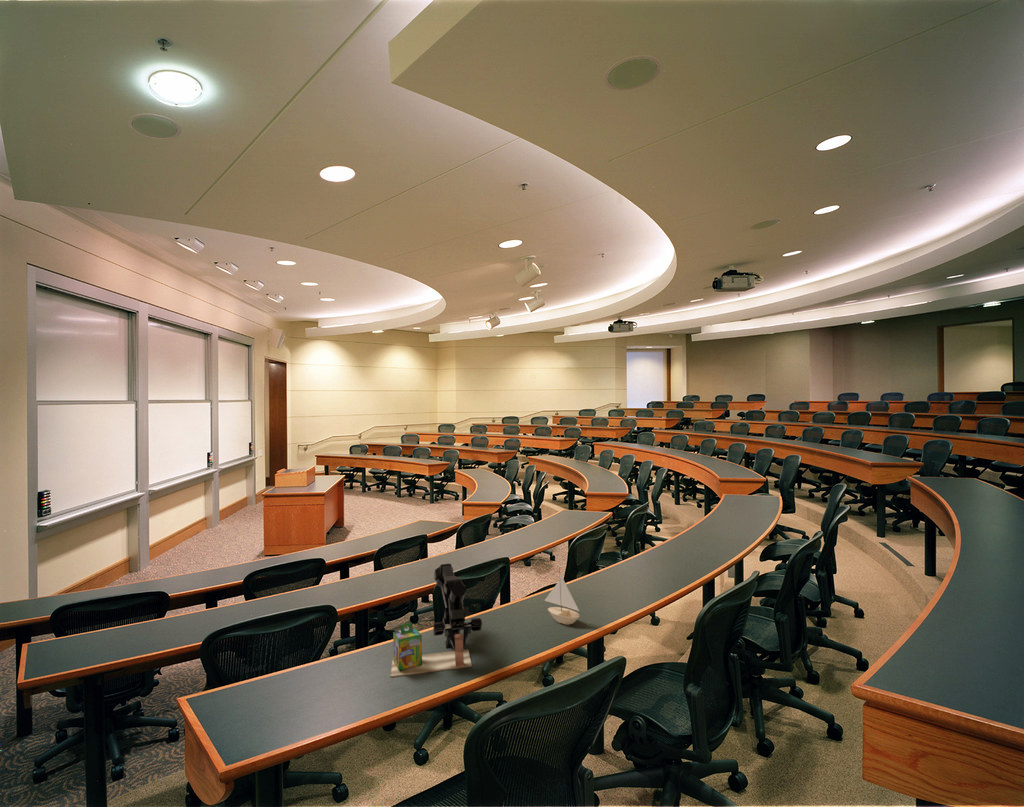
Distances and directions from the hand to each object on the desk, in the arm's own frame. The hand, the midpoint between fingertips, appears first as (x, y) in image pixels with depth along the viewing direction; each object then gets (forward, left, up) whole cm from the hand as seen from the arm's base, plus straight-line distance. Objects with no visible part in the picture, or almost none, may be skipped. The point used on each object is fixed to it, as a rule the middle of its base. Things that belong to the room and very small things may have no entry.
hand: (459, 649), depth 182 cm
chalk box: (-8, -19, -7) cm, 22 cm away
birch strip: (-7, -10, -7) cm, 14 cm away
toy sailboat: (-32, +50, -7) cm, 60 cm away
